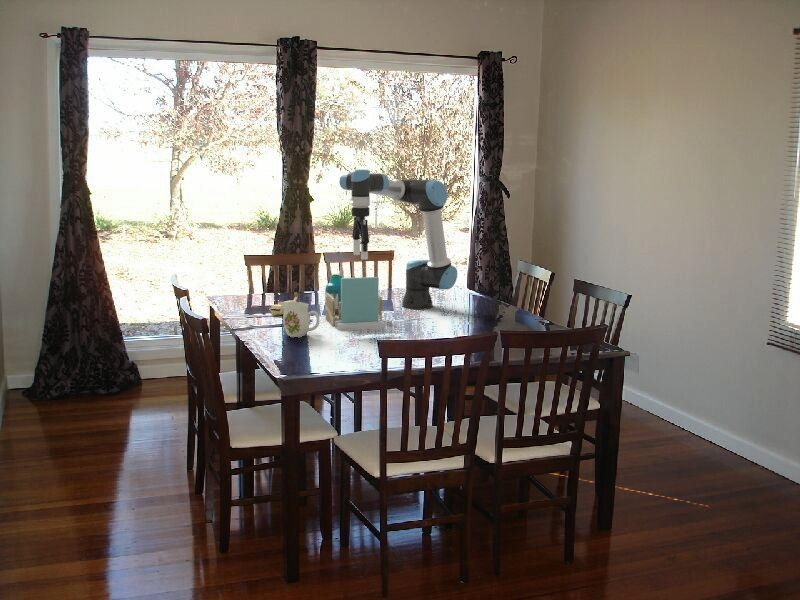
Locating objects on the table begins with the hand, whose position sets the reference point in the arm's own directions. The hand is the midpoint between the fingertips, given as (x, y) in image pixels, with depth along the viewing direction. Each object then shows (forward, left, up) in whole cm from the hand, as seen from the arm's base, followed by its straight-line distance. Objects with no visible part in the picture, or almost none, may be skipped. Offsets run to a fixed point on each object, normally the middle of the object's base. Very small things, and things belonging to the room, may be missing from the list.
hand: (360, 257), depth 338 cm
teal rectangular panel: (0, 0, -31) cm, 31 cm away
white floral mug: (+27, +4, -32) cm, 42 cm away
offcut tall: (0, -11, -30) cm, 32 cm away
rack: (0, -11, -32) cm, 34 cm away
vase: (+3, -33, -32) cm, 46 cm away
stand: (0, 0, -32) cm, 32 cm away
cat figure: (+25, -47, -32) cm, 62 cm away
